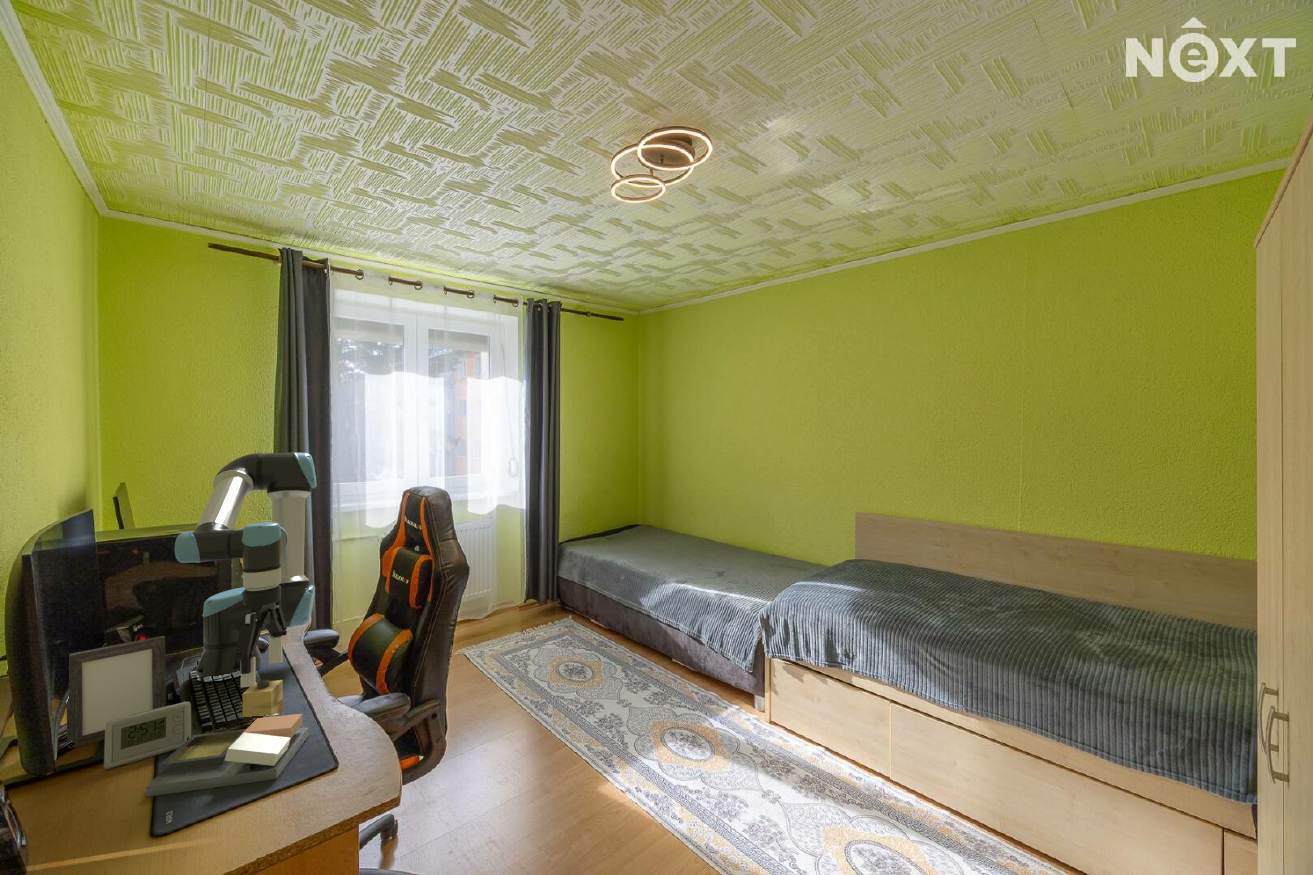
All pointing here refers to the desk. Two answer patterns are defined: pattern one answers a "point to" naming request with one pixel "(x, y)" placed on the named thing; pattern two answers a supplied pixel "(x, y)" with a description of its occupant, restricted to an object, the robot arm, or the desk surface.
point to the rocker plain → (257, 749)
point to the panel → (215, 764)
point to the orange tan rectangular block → (276, 725)
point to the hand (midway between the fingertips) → (262, 674)
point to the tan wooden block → (263, 699)
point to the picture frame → (113, 686)
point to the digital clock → (146, 734)
